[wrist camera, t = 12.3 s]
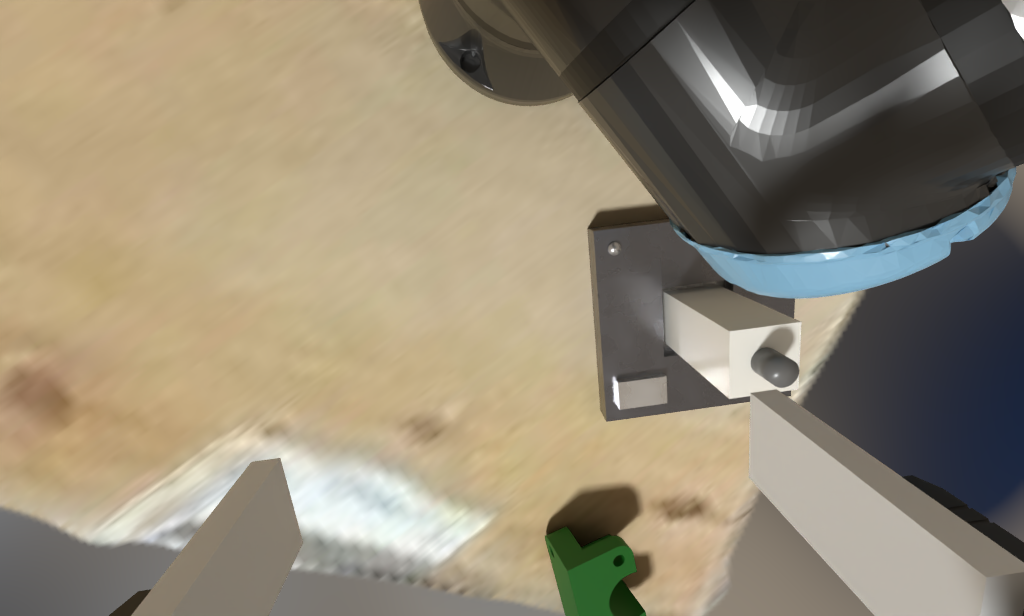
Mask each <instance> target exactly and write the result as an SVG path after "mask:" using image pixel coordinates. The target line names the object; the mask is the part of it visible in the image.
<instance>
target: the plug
mask: <svg viewBox="0 0 1024 616" xmlns="http://www.w3.org/2000/svg"><path fill="white" fill-rule="evenodd" d="M663 318H664V343H666V344H667V345H668V346H669V347H670V348H671V349H672V350H674V351H675V352H676V353H677V354H678V355H679V356H680V357H682V358H683V359H684V360H685V361H686V362H687V363H688V364H690V365H691V366H692V367H693V368H694V369H695V370H697V371H698V372H699V373H700V374H701V375H702V376H703V377H705V378H706V379H707V380H708V381H709V382H710V383H711V384H713V385H714V386H715V387H716V388H717V389H718V390H719V391H721V392H722V393H723V394H724V395H725V396H726V397H728V398H729V399H733V398H740V397H747V396H750V393H753V392H760V391H767V390H775V389H777V390H778V391H780V392H783V391H790V390H798V386H799V363H800V341H801V321H798V320H796V319H794V318H791V317H789V316H787V315H785V314H782V313H780V312H778V311H776V310H773V309H771V308H769V307H767V306H764V305H762V304H760V303H758V302H755V301H753V300H751V299H749V298H746V297H744V296H742V295H740V294H737V293H735V292H733V291H730V290H728V289H726V288H724V287H721V286H719V285H717V284H713V285H705V286H697V287H689V288H682V289H674V290H666V291H663Z"/></svg>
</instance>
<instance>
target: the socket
mask: <svg viewBox="0 0 1024 616" xmlns="http://www.w3.org/2000/svg"><path fill="white" fill-rule="evenodd" d="M588 241H589V255H590V269H591V283H592V297H593V311H594V325H595V339H596V353H597V367H598V381H599V395H600V409H601V412H602V414H603V416H604V418H605V420H606V422H607V421H614V420H622V419H629V418H636V417H643V416H650V415H658V414H665V413H672V412H679V411H686V410H693V409H701V408H708V407H715V406H722V405H729V404H737V403H744V402H750V396H747V397H740V398H733V399H729V398H728V397H726V396H725V395H724V394H723V393H722V392H721V391H719V390H718V389H717V388H716V387H715V386H714V385H713V384H711V383H710V382H709V381H708V380H707V379H706V378H705V377H703V376H702V375H701V374H700V373H699V372H698V371H697V370H695V369H694V368H693V367H692V366H691V365H690V364H688V363H687V362H686V361H685V360H684V359H683V358H682V357H680V356H679V355H678V354H677V353H676V352H675V351H674V350H672V349H671V348H670V347H669V346H668V345H667V344H666V343H664V318H663V291H666V290H674V289H682V288H689V287H697V286H705V285H713V284H717V285H719V286H721V287H724V288H726V289H728V290H730V291H733V292H735V293H737V294H740V295H742V296H744V297H746V298H749V299H751V300H753V301H755V302H758V303H760V304H762V305H764V306H767V307H769V308H771V309H773V310H776V311H778V312H780V313H782V314H785V315H787V316H789V317H791V318H794V305H795V298H777V297H771V296H765V295H759V294H756V293H753V292H750V291H747V290H745V289H743V288H741V287H739V286H737V285H735V284H732V283H729V282H728V281H727V280H725V279H724V278H722V277H721V276H720V275H719V274H718V273H717V272H716V271H715V270H714V269H713V268H712V267H711V266H710V264H709V263H708V262H707V261H706V260H705V259H704V258H703V256H702V255H701V254H700V253H699V252H698V251H697V250H696V248H695V247H693V246H692V245H690V244H688V243H687V242H685V241H684V240H683V239H682V238H681V237H680V236H679V235H677V233H676V232H675V231H674V229H673V228H672V227H671V225H670V220H669V219H662V220H654V221H646V222H638V223H629V224H621V225H613V226H605V227H597V228H589V229H588ZM781 393H783V394H784V395H786V396H791V390H790V391H783V392H781Z"/></svg>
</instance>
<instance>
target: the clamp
mask: <svg viewBox="0 0 1024 616" xmlns="http://www.w3.org/2000/svg"><path fill="white" fill-rule="evenodd" d="M545 540H546V544H547V548H548V552H549V555H550V559H551V563H552V567H553V570H554V574H555V578H556V582H557V585H558V589H559V593H560V597H561V600H562V604H563V608H564V612H565V615H566V616H646V613H645V610H644V609H643V608H642V606H641V605H640V604H639V602H638V601H637V599H636V598H635V597H634V595H633V594H632V593H631V591H630V590H629V589H628V587H627V586H626V584H625V583H624V582H623V580H622V579H623V578H624V577H625V576H627V575H629V574H631V573H634V572H637V570H636V565H635V560H634V555H633V552H632V550H631V549H630V548H629V546H628V545H627V544H626V543H625V541H624V540H623V539H622V538H621V537H619V536H611V535H607V536H604V537H602V538H600V539H598V540H596V541H594V542H592V543H590V544H587V545H585V546H583V547H581V546H580V545H579V544H578V542H577V541H576V539H575V538H574V536H573V535H572V533H571V532H570V530H569V529H568V528H567V527H564V528H562V529H559V530H557V531H555V532H553V533H551V534H548V535H546V536H545Z"/></svg>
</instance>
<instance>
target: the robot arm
mask: <svg viewBox="0 0 1024 616" xmlns="http://www.w3.org/2000/svg"><path fill="white" fill-rule="evenodd" d="M419 4H420V8H421V12H422V15H423V18H424V21H425V24H426V27H427V30H428V32H429V35H430V37H431V39H432V41H433V44H434V45H435V47H436V49H437V51H438V52H439V54H440V55H441V57H442V59H443V60H444V61H445V63H446V64H447V65H448V66H449V68H450V69H451V70H452V71H453V72H454V73H455V74H456V75H457V76H458V77H459V78H460V79H461V80H462V81H463V82H465V83H466V84H467V85H469V86H470V87H471V88H473V89H474V90H476V91H477V92H479V93H481V94H483V95H485V96H487V97H489V98H491V99H494V100H497V101H500V102H503V103H507V104H512V105H519V106H538V105H545V104H550V103H554V102H557V101H560V100H563V99H565V98H568V97H570V96H572V95H574V96H575V97H576V98H577V100H578V101H579V102H578V103H579V104H580V105H581V107H582V108H583V109H584V110H585V112H586V113H587V114H588V115H589V117H590V118H591V119H592V121H593V122H594V123H595V124H596V126H597V127H598V128H599V129H600V131H601V132H602V133H603V134H604V136H605V137H606V138H607V140H608V141H609V142H610V143H611V145H612V146H613V147H614V148H615V150H616V151H617V152H618V154H619V155H620V156H621V157H622V159H623V160H624V161H625V162H626V164H627V165H628V166H629V168H630V169H631V170H632V171H633V173H634V174H635V175H636V176H637V178H638V179H639V180H640V181H641V183H642V184H643V185H644V187H645V188H646V189H647V190H648V192H649V193H650V194H651V195H652V197H653V198H654V199H655V201H656V202H657V203H658V204H659V206H660V207H661V208H662V209H663V211H664V212H665V213H666V215H667V216H668V217H669V220H670V225H671V227H672V228H673V229H674V231H675V232H676V233H677V235H679V236H680V237H681V238H682V239H683V240H684V241H685V242H687V243H688V244H690V245H692V246H693V247H695V248H696V250H697V251H698V252H699V253H700V254H701V255H702V256H703V258H704V259H705V260H706V261H707V262H708V263H709V264H710V266H711V267H712V268H713V269H714V270H715V271H716V272H717V273H718V274H719V275H720V276H721V277H722V278H724V279H725V280H727V281H728V282H729V283H732V284H735V285H737V286H739V287H741V288H743V289H745V290H747V291H750V292H753V293H756V294H759V295H765V296H771V297H777V298H796V299H798V298H818V297H826V296H833V295H840V294H845V293H850V292H855V291H860V290H864V289H868V288H872V287H875V286H879V285H882V284H885V283H889V282H891V281H894V280H897V279H900V278H903V277H905V276H908V275H910V274H913V273H915V272H917V271H920V270H922V269H924V268H926V267H929V266H930V265H932V264H935V263H937V262H939V261H940V260H942V259H944V258H945V257H947V256H949V254H950V250H951V244H950V243H952V242H959V241H968V240H973V239H974V238H976V237H977V236H978V235H979V234H980V233H982V232H983V231H984V230H985V229H987V228H988V227H989V226H990V225H991V224H992V223H993V222H994V221H995V220H996V219H997V217H998V216H999V215H1000V213H1001V212H1002V211H1003V209H1004V208H1005V206H1006V204H1007V202H1008V200H1009V197H1010V195H1011V191H1012V183H1013V181H1014V178H1015V175H1016V166H1019V165H1021V164H1024V0H419ZM749 478H750V479H751V480H752V482H753V483H754V484H755V485H756V486H757V487H758V488H759V489H760V490H761V491H762V493H763V494H764V495H765V496H766V497H767V498H768V499H769V500H770V501H771V502H772V503H773V505H774V506H775V507H776V508H777V509H778V510H779V511H780V512H781V513H782V514H783V515H784V516H785V518H786V519H787V520H788V521H789V522H790V523H791V524H792V525H793V526H794V528H795V529H796V530H797V531H798V532H799V533H800V534H801V535H802V536H803V537H804V538H805V540H806V541H807V542H808V543H809V544H810V545H811V546H812V547H813V548H814V549H815V551H816V552H817V553H818V554H819V555H820V556H821V557H822V558H823V559H824V560H825V562H826V563H827V564H828V565H829V566H830V567H831V568H832V569H833V570H834V571H835V572H836V574H837V575H838V576H839V577H840V578H841V579H842V580H843V581H844V582H845V583H846V585H847V586H848V587H849V588H850V589H851V590H852V591H853V592H854V593H855V594H856V595H857V597H858V598H859V599H860V600H861V601H862V602H863V603H864V604H865V605H866V606H867V608H868V609H869V610H870V611H871V612H872V613H873V614H874V615H875V616H1024V542H1022V541H1021V540H1019V539H1018V538H1016V537H1014V536H1013V535H1012V534H1010V533H1009V532H1007V531H1006V530H1004V529H1003V528H1001V527H1000V526H998V525H997V524H995V523H990V522H989V520H988V518H986V517H985V516H983V515H982V514H980V513H979V512H977V511H975V510H974V509H972V508H971V509H969V508H968V507H967V504H965V503H964V502H962V501H961V500H959V499H958V498H956V497H955V496H953V495H951V494H950V493H949V492H947V491H946V490H944V489H943V488H940V487H938V486H936V485H933V484H931V483H929V482H926V481H924V480H921V479H919V478H917V477H914V476H905V477H901V476H899V475H898V474H897V473H895V472H894V471H892V470H891V469H890V468H888V467H887V466H885V465H884V464H882V463H881V462H880V461H878V460H877V459H875V458H874V457H873V456H871V455H870V454H868V453H867V452H865V451H864V450H863V449H861V448H860V447H858V446H857V445H855V444H854V443H852V442H851V441H850V440H848V439H847V438H845V437H844V436H842V435H841V434H840V433H838V432H837V431H835V430H834V429H832V428H831V427H830V426H828V425H827V424H825V423H824V422H823V421H821V420H820V419H818V418H817V417H816V416H814V415H813V414H811V413H810V412H808V411H807V410H806V409H804V408H803V407H801V406H800V405H798V404H797V403H796V402H794V401H793V400H791V399H790V398H788V397H787V396H786V395H784V394H783V393H781V392H780V391H778V390H777V389H775V390H767V391H760V392H753V393H750V443H749ZM302 544H303V541H302V537H301V533H300V530H299V526H298V522H297V519H296V515H295V511H294V507H293V504H292V500H291V496H290V493H289V489H288V485H287V481H286V478H285V474H284V470H283V467H282V463H281V459H280V458H277V459H270V460H262V461H255V462H251V463H250V465H249V466H248V467H247V468H246V470H245V471H244V472H243V474H242V475H241V476H240V477H239V479H238V480H237V481H236V482H235V484H234V485H233V486H232V488H231V489H230V490H229V491H228V493H227V494H226V495H225V497H224V498H223V499H222V500H221V502H220V503H219V504H218V505H217V507H216V508H215V509H214V511H213V512H212V513H211V514H210V516H209V517H208V518H207V519H206V521H205V522H204V523H203V525H202V526H201V527H200V528H199V530H198V531H197V532H196V534H195V535H194V536H193V537H192V539H191V540H190V541H189V542H188V544H187V545H186V546H185V548H184V549H183V550H182V551H181V553H180V554H179V555H178V557H177V558H176V559H175V560H174V562H173V563H172V564H171V565H170V567H169V568H168V569H167V571H166V572H165V573H164V574H163V576H162V577H161V578H160V579H159V581H158V582H157V583H156V585H155V586H154V587H153V588H152V589H151V590H145V591H139V592H137V593H136V594H135V595H133V596H132V597H131V598H130V599H129V600H127V601H126V602H125V603H124V604H122V605H121V606H120V607H119V608H117V609H116V610H115V611H114V612H113V613H111V614H110V615H109V616H269V614H270V612H271V610H272V607H273V605H274V603H275V601H276V599H277V597H278V595H279V593H280V591H281V588H282V586H283V584H284V582H285V580H286V578H287V576H288V574H289V571H290V569H291V567H292V565H293V563H294V561H295V559H296V557H297V554H298V552H299V550H300V548H301V546H302Z"/></svg>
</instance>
